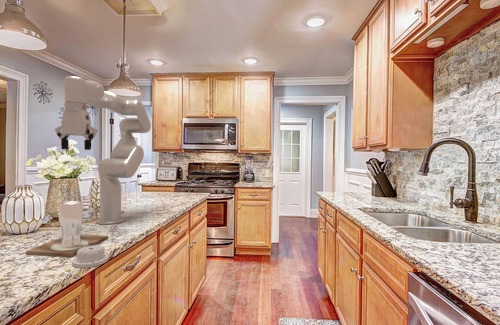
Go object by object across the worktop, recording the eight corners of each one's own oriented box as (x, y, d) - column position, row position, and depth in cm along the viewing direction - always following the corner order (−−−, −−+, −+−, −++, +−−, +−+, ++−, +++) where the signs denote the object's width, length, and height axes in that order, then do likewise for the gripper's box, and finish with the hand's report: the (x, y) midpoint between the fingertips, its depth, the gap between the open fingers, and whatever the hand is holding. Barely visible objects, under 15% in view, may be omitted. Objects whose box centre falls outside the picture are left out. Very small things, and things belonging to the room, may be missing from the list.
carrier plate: (70, 236, 109) (70, 231, 109) (108, 238, 108) (108, 232, 108) (25, 254, 89) (25, 247, 89) (71, 257, 88) (71, 249, 88)
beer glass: (68, 241, 99) (68, 200, 99) (87, 241, 99) (87, 201, 98) (54, 247, 92) (54, 203, 92) (74, 248, 92) (74, 204, 92)
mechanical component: (63, 267, 81) (93, 270, 79) (63, 252, 80) (93, 255, 79) (88, 255, 90) (115, 257, 89) (88, 242, 90) (115, 244, 89)
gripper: (101, 109, 114) (102, 150, 115) (62, 108, 115) (62, 149, 115) (90, 106, 106) (90, 150, 107) (48, 106, 107) (49, 149, 108)
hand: (76, 149), depth 111 cm, fingers open, 9 cm apart
